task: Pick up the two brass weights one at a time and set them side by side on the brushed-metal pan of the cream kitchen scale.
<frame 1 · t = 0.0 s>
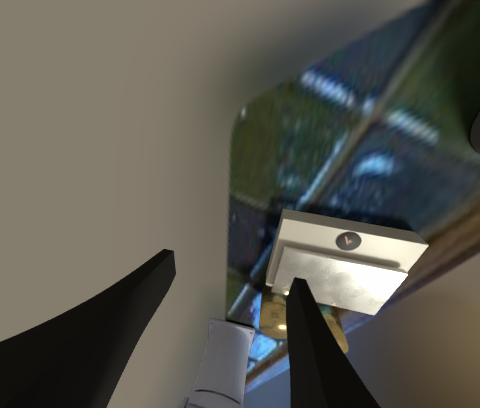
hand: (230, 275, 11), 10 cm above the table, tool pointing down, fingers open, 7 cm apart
scale: (329, 255, 21), on the table
weight b: (276, 291, 26), on the table
weight a: (320, 306, 26), on the table
scale pan: (331, 281, 20), point 3 cm above the table, slide at -0.2 cm
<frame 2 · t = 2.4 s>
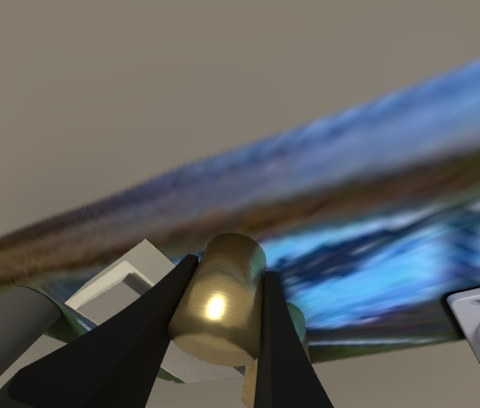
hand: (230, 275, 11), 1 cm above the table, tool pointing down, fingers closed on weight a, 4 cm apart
scale: (170, 310, 17), on the table
weight b: (277, 316, 14), on the table
weight a: (235, 257, 12), on the table, touching gripper
bottle: (39, 300, 21), on the table
scale pan: (163, 339, 14), point 3 cm above the table, slide at -0.2 cm
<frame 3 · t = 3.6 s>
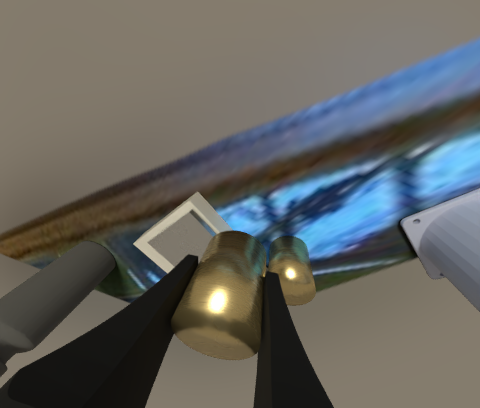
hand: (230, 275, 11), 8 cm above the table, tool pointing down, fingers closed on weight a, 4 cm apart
scale: (207, 252, 22), on the table
weight b: (288, 250, 20), on the table
weight a: (236, 254, 12), point 7 cm above the table, touching gripper
bottle: (98, 255, 27), on the table
scale pan: (207, 264, 19), point 3 cm above the table, slide at -0.2 cm
when the fingers open (6 cm above the table, at t = 4.9 s): weight a drops 1 cm, resting on scale pan.
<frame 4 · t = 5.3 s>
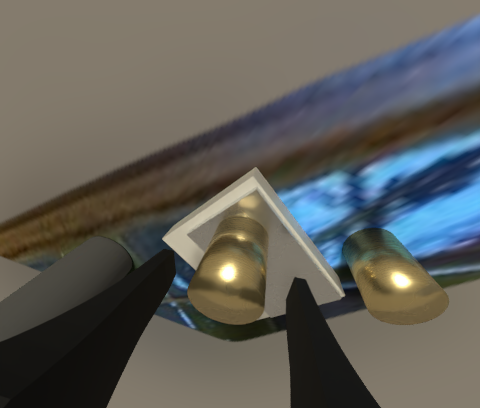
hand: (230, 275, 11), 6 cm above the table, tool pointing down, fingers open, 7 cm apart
scale: (254, 250, 17), on the table
weight b: (369, 247, 15), on the table
weight a: (241, 238, 14), point 3 cm above the table, touching scale pan
bottle: (111, 254, 22), on the table
scale pan: (265, 264, 15), point 2 cm above the table, slide at -0.5 cm, touching weight a
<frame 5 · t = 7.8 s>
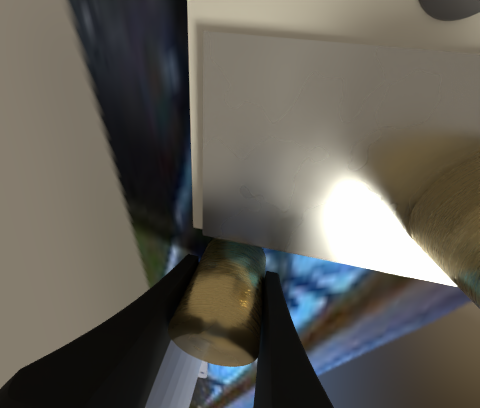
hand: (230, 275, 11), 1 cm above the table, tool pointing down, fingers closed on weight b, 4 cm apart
scale: (362, 130, 7), on the table
weight b: (235, 257, 12), on the table, touching gripper
scale pan: (372, 183, 6), point 2 cm above the table, slide at -0.5 cm, touching weight a
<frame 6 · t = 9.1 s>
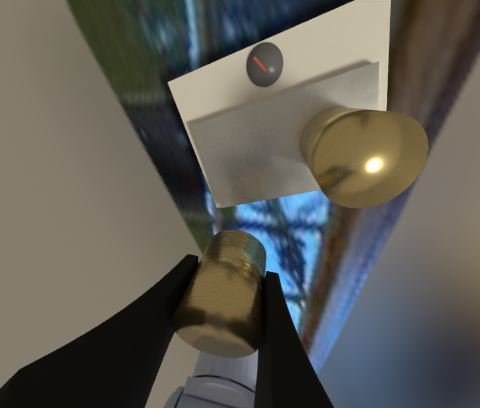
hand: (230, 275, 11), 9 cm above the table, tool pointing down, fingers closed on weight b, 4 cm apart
scale: (277, 127, 14), on the table
weight b: (236, 253, 12), point 7 cm above the table, touching gripper
weight a: (332, 142, 12), point 3 cm above the table, touching scale pan
scale pan: (281, 151, 13), point 2 cm above the table, slide at -0.5 cm, touching weight a
when the fingers open (6 cm above the table, at t = 10.2 s): weight b drops 1 cm, resting on scale pan.
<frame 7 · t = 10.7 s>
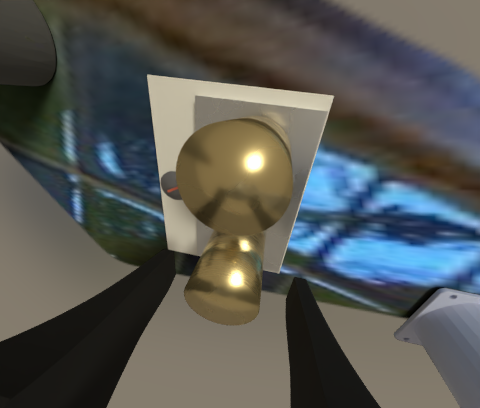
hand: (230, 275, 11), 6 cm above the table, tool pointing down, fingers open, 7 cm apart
scale: (232, 184, 15), on the table
weight b: (238, 240, 14), point 3 cm above the table, touching scale pan
weight a: (254, 154, 10), point 3 cm above the table, touching scale pan
bottle: (19, 35, 12), on the table
scale pan: (246, 200, 12), point 2 cm above the table, slide at -0.5 cm, touching scale, weight a, weight b
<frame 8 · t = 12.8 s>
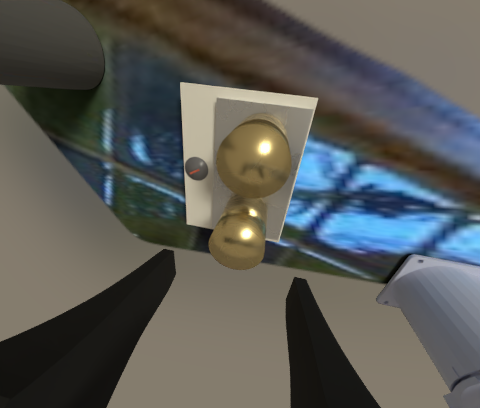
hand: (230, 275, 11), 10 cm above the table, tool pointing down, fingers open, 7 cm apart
scale: (241, 168, 18), on the table
weight b: (246, 213, 17), point 3 cm above the table, touching scale pan
weight a: (260, 142, 14), point 3 cm above the table, touching scale pan
bottle: (75, 50, 16), on the table
scale pan: (252, 179, 16), point 2 cm above the table, slide at -0.5 cm, touching scale, weight a, weight b
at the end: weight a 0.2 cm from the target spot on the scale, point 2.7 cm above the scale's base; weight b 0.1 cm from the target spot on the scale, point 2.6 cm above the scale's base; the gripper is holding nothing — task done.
